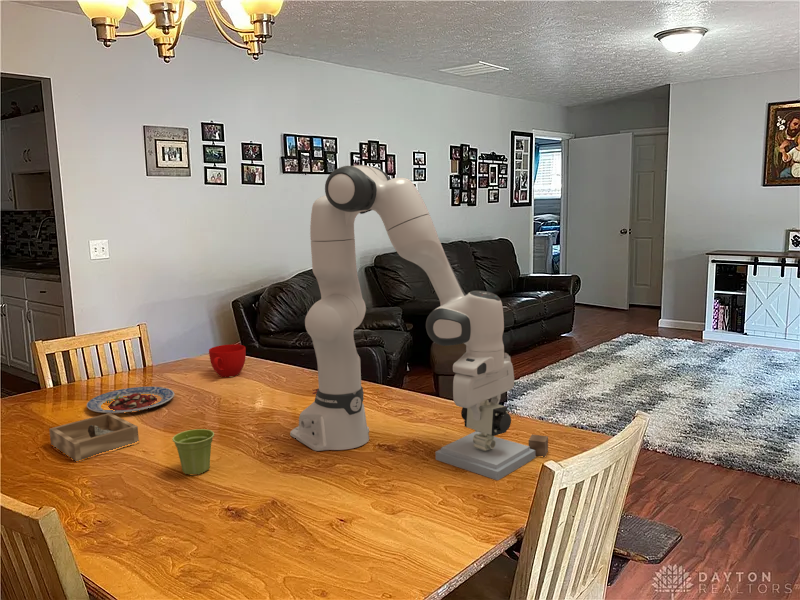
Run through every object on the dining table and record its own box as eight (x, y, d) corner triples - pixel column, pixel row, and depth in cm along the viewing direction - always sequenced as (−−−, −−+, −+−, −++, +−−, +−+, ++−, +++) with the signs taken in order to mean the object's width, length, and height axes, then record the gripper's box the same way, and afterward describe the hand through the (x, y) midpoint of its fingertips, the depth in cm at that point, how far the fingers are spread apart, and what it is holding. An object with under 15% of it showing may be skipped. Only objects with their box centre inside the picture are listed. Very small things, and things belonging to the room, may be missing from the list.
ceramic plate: (191, 399, 208) (191, 391, 207) (120, 424, 187) (119, 414, 186) (142, 388, 222) (141, 380, 221) (70, 410, 200) (69, 401, 200)
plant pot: (173, 466, 155) (171, 432, 154) (214, 459, 159) (211, 426, 158) (177, 482, 147) (174, 445, 146) (219, 474, 151) (216, 438, 149)
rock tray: (51, 445, 171) (49, 428, 170) (111, 429, 182) (109, 412, 181) (76, 462, 159) (74, 444, 158) (139, 443, 171) (137, 426, 170)
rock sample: (133, 426, 170) (103, 408, 167) (116, 451, 166) (85, 434, 163) (123, 433, 178) (94, 416, 175) (106, 457, 173) (77, 441, 171)
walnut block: (528, 455, 157) (528, 440, 156) (531, 449, 160) (531, 434, 160) (544, 457, 155) (545, 442, 155) (547, 451, 159) (548, 436, 158)
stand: (435, 459, 156) (435, 447, 155) (474, 440, 167) (474, 429, 167) (497, 480, 143) (497, 467, 143) (535, 458, 155) (535, 446, 155)
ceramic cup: (199, 382, 226) (197, 355, 225) (220, 369, 243) (218, 344, 241) (233, 383, 224) (232, 355, 223) (252, 370, 241) (251, 344, 239)
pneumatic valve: (497, 457, 148) (500, 406, 146) (458, 444, 156) (461, 395, 155) (511, 452, 152) (514, 402, 150) (473, 439, 160) (476, 392, 159)
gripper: (498, 349, 161) (499, 402, 163) (447, 366, 146) (448, 424, 148) (520, 353, 157) (520, 407, 159) (470, 371, 142) (470, 430, 144)
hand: (485, 415), depth 154 cm, fingers closed on pneumatic valve, 5 cm apart
